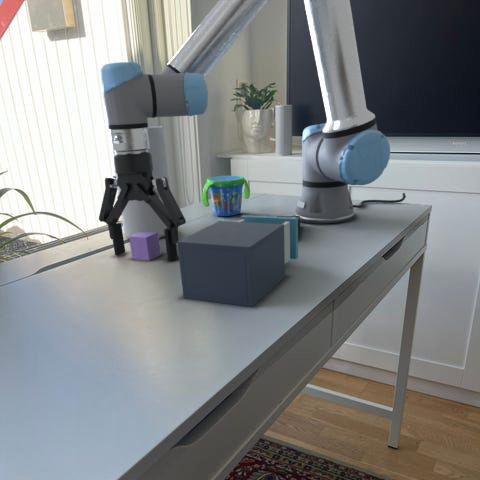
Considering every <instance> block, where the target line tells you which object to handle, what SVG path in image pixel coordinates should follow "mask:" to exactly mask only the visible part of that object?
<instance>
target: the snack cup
mask: <svg viewBox="0 0 480 480" xmlns="http://www.w3.org/2000/svg"><path fill="white" fill-rule="evenodd" d="M208 190H209V191H208ZM209 194H210V200H211V203H212V209H213V212H214V214H215V215H216V216H217V217H232V216H236V215H240V214H241V211H242V202H243V199H245V200H248V199H249V198H250V196H251V191H250V187H249V183H248V181H247V180H246V178H245V176H242V175H219V176H212V177H208V178H207V179H206V183H205V184H204V186H203V189H202V196H201V198H202V199H201V201H202V204H203V206H204V207H207V208H208V207H210V202H209Z"/></svg>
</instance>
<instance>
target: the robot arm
mask: <svg viewBox="0 0 480 480" xmlns="http://www.w3.org/2000/svg"><path fill="white" fill-rule="evenodd" d="M269 1H271V2H274V1H276V0H218V1H217V2H216V4H214V6H213V8H212V9H211V10H210V11H209V12H208V13H207V15H206V16H205V17H204V19H203V20H202V21H201V22H200V24H199V25H198V26H197V27H196V28H195V30H194V31H193V32H192V33H191V35H190V36H189V37H188V38H187V39H186V41H184V43H183V44H182V45H181V46H180V48H179V49H178V51H177V52H176V53H175V54H174V55H173V57H172V58H171V59H170V61H168V63H167V65H166V66H164V68H163V69H161V72H160V73H159V74H148V73H144V72H143V70H142V65H141V64H140V63H138V62H136V61H135V62H134V61H131V62H129V61H128V62H127V61H122V62H121V61H119V62H109V63H105V64H104V65H102V66H101V69H100V77H101V87H102V95H103V102H104V108H105V114H106V121H107V125H108V126H107V128H108V130H109V133H108V135H109V134H110V139H109V141H110V140H111V146H110V148H111V147H112V150H113V151H114V152H116V154H114V156H113V158H112V162H113V161H114V165H113V169H114V168H115V171H114V173H115V172H116V173H117V174H118V178H116V177H115V175H113V176H108V177H105V178H104V186H105V190H104V193H103V197H102V202H101V206H100V211H99V215H98V220H99V221H100V222H101V223H102V222H103V223H105V224H106V225H107V229H108V235H109V238H110V240H112V244H113V249H114V250H113V251H114V255H115V256H121V255H122V254H123V255H124V254H125V253H126V247H125V238H124V234H123V233H124V231H123V225H122V223H121V222H120V218H121V217H122V215H121V214H122V213H123V211H124V209H125V207H126V205H127V203H128V202H129V201H133V200H137V201H143V200H144V201H145V202H146V203H147V204H149V205H150V206H151V208H152V209H153V210H154V211H155V213H156V214H157V215H158V216H159V218H160V219H161V220H162V221H163V223H164V224H165V225H166V226H167V229H164V233H165V237H164V240H165V248H166V257H167V258H166V259H167V261H168V262H171V261H173V260H175V259H177V258H179V254H178V245H177V242H178V241H180V237H179V227H180V226H182V225H185V224H186V222H187V221H186V218H185V216H184V214H183V212H182V210H181V208H180V206H179V204H178V203H177V200H176V198H175V197H174V194H173V192H172V191H171V189H169V187H170V184H169V185H168V180H167V178H166V177H162V178H158V179H154V178H153V175H152V171H153V163H152V154H151V153H150V152H148V149H150V148H151V145H150V137H149V129H148V127H149V123H148V119H149V118H152V119H155V118H169V117H172V118H173V117H174V118H175V117H193V116H201V115H204V114H205V113H206V112H207V109H208V104H209V91H208V84H207V81H206V77H207V76H208V75H209V73H210V72H211V71H212V70H213V68H214V67H215V66H216V65H217V64H218V63H219V61H221V59H222V58H223V57H224V56H225V54H226V53H227V52H228V51H229V49H230V48H231V47H232V46H233V45H234V43H236V41H237V40H238V38H240V36H241V35H242V34H243V32H245V30H246V29H247V28H248V27H249V25H250V24H251V23H252V22H253V20H254V19H256V17H257V16H258V15H259V13H260V12H261V11H262V10H263V9H264V7H265V6H266V5H267V4H268V2H269ZM303 4H304V9H305V14H306V20H307V25H308V30H309V34H310V41H311V45H312V51H313V55H314V62H315V66H316V71H317V76H318V80H319V86H320V90H321V96H322V101H323V102H322V103H323V106H324V111H325V117H326V122H325V123H319V124H313V125H309V126H307V127H305V128H304V129H303V131H302V137H301V158H302V159H301V161H302V162H301V168H302V170H301V173H302V174H301V177H302V180H301V181H302V185H301V186H302V189H301V192H300V195H299V198H298V200H297V204H296V209H295V216H300V222H302V223H307V224H317V225H318V224H322V225H323V224H324V225H325V224H326V225H327V224H338V223H344V222H347V221H351V220H352V219H354V218H355V209H361V208H363V207H364V204H366V203H367V204H368V203H382V204H386V203H387V204H392V203H393V204H397V203H402V202H403V201H404V200H405V199H406V198H407V196H406V193H405V192H402V198H400V199H394V200H393V199H392V200H391V199H390V200H389V199H366V200H365V199H364V200H362V201H361V202H360V204H359V205H358V204H353V201H352V196H351V194H350V189H349V186H366V185H369V184H372V183H374V182H375V181H377V180H378V179H379V178H380V177H381V176H382V175H383V173H384V171H385V169H386V168H387V167H388V165H389V162H390V158H391V144H390V141H389V139H388V138H387V136H386V135H385V134H383V132H381V131H380V130H378V125H377V118H376V115H375V113H373V112H372V111H370V110H369V109H368V108H367V103H366V95H365V90H364V84H363V77H362V71H361V64H360V58H359V57H360V56H359V52H358V44H357V39H356V33H355V26H354V19H353V13H352V7H351V1H350V0H303ZM118 186H119V188H120V189H121V191H120V193H119V195H117V194H118V190H117V187H118ZM154 186H155V189H157V191H158V193H159V195H160V197H161V199H162V201H163V203H164V204H163V203H162V202H161V200H160V199H159V196H158V194H157V193H156V192H155V191H154V189H153V188H154ZM354 208H355V209H354Z"/></svg>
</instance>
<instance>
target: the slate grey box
mask: <svg viewBox="0 0 480 480" xmlns="http://www.w3.org/2000/svg"><path fill="white" fill-rule="evenodd" d="M176 246H177V254H178V261H179V270H180V279H181V287H182V298H183V299H188V300H194V301H195V300H197V301H202V302H203V301H204V302H211V303H219V304H226V305H235V306H243V307H250V308H253V307H254V306H256V304H257V303H259V302H260V301H261V300H262V299H263V298H264V297H265V296H266V295H267V294H269V292H270V291H271V290H273V289H274V288H275V287H276V286H277V285H278V284H279V283H280V282H281V281H283V279H284V278H286V263H285V248H284V224H270V223H250V222H237V221H231V220H229V221H228V220H219V221H218V220H217V221H216V222H214V223H213V224H210V225H208V226H207V227H204V228H202V229H200V230H198V231H196V232H194V233H192V234H190V235H188V236H186V237H184V238H182V239H179V241H178V242H177V244H176Z"/></svg>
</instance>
